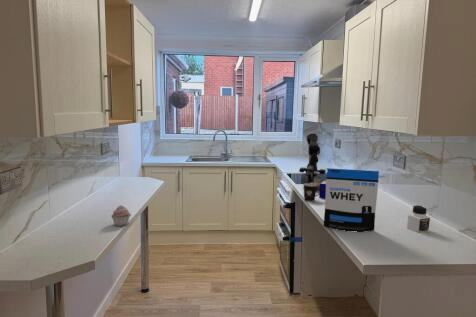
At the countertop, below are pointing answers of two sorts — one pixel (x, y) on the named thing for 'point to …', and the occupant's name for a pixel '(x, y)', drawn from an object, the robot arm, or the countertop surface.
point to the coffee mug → (310, 191)
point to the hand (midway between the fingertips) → (311, 182)
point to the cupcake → (121, 216)
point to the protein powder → (351, 199)
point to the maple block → (317, 181)
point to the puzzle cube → (323, 186)
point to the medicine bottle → (418, 219)
